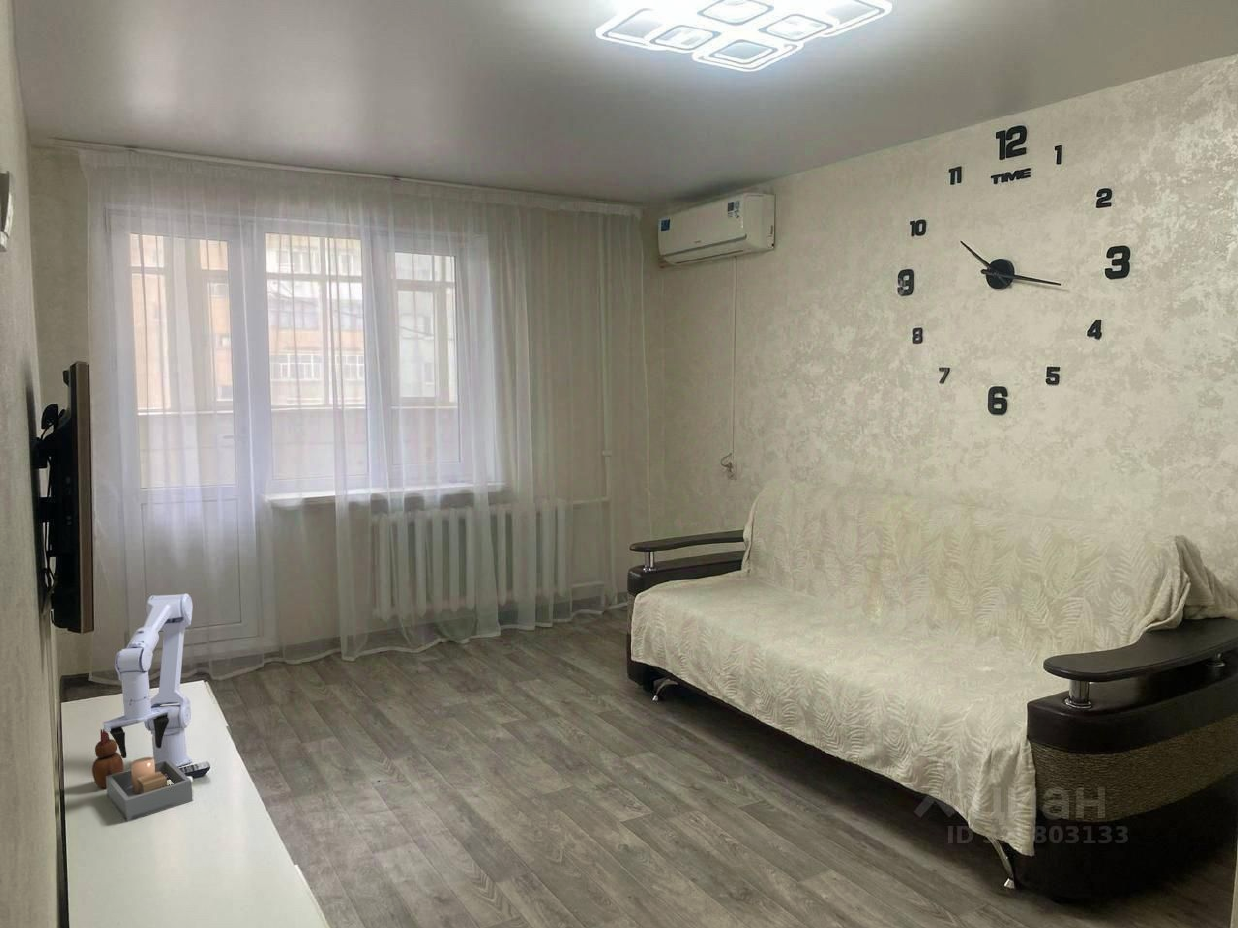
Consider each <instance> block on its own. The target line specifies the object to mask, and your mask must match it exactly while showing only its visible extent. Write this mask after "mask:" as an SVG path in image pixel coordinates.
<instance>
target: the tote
mask: <svg viewBox="0 0 1238 928" xmlns="http://www.w3.org/2000/svg"><path fill="white" fill-rule="evenodd" d="M154 764H155V773H156V772H161V773H162V774H163V775H164V774H167V775H168V777H169V778H170V780H171V781H172V782H173V783H174V784H171V785H170V784H169V785H167V786H166V787H163V788H159V789H156V790H153V791H150V792H146V793H143V794H140V795H139V794H134V793H133V786H132V774H131V768H130V769H127V770H123V772H119V773H116V774H112V775H109V776H106V786H107V788H106V797H107V798H108V799H109V800H110V802H111V803H112V804H113V805H114V807H115V808H116V809H117V810H118V812H119V813H120V814H121V816H122V817H123V819H124V820H125V821H126V822H127V823H129V822H131V821H135V820H138V819H141V818H144V817H147V816H150V815H153V814H156V813H160V812H163V811H165V810H168V809H171V808H174V807H175V808H176V807H179V806H181V805H184V804H187V803H190V802H193V800H194V799H193V790H192V789H193V788H192V780H191V779H190V778H189V777H188V775H186V774H185V773H184V772H183V771H182V770H181V769H180V768H178V767H179V766H178V767H177V766H175V765H174V764H173V763H172V762H171V761H170V760H169V759H165V760H161V761H158V762H154Z"/></svg>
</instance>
